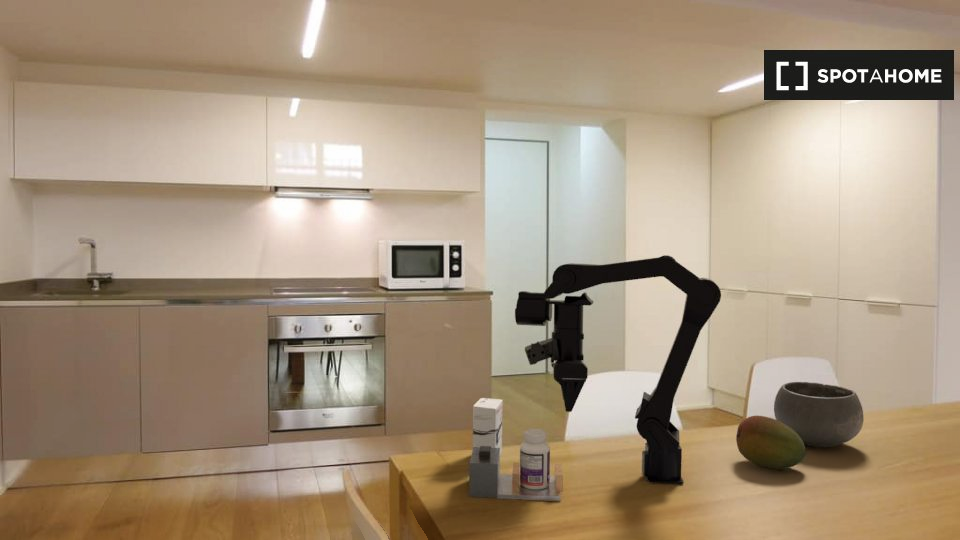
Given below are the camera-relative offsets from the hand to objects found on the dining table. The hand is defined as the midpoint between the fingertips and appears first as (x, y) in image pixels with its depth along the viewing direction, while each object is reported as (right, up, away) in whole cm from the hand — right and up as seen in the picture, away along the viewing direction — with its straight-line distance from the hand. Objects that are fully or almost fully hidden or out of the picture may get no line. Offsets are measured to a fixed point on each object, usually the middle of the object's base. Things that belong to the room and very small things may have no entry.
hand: (567, 405), depth 130 cm
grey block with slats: (-11, -13, -11) cm, 20 cm away
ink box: (-16, -12, +6) cm, 21 cm away
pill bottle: (-7, -12, -11) cm, 18 cm away
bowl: (+58, -12, +17) cm, 62 cm away
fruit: (+41, -13, +3) cm, 43 cm away
